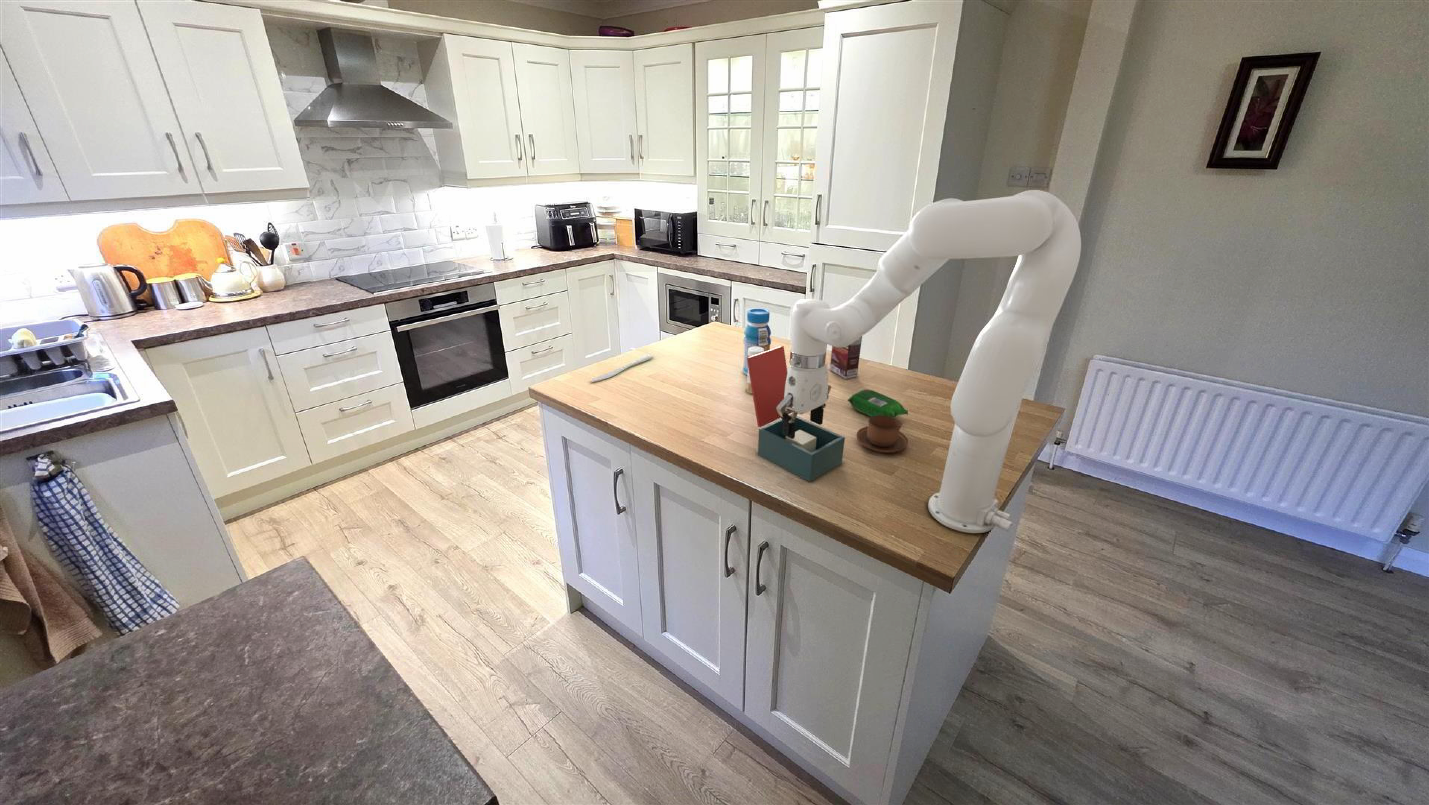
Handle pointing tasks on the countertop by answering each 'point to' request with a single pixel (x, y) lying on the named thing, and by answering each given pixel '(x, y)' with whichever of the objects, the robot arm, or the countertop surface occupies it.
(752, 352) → the sprinkles bottle
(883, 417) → the cup and saucer
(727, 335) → the countertop surface
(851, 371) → the supplement box
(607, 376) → the butter knife
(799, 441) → the block
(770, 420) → the lid
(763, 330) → the beverage bottle
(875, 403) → the snack package
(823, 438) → the open box
